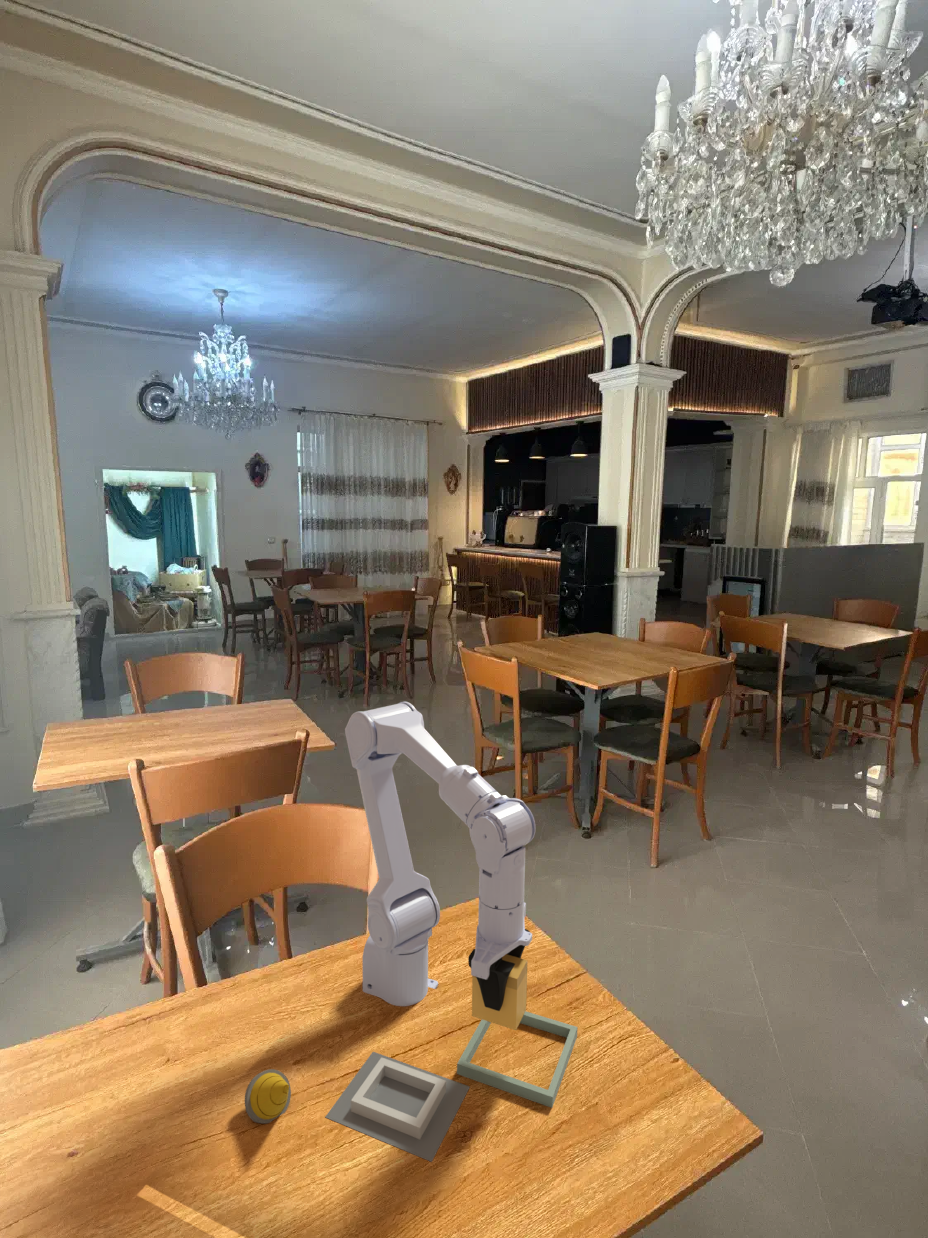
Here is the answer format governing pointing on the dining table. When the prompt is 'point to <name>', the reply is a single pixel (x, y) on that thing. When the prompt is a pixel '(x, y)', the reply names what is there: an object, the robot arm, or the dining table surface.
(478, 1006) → the yellow rectangular block
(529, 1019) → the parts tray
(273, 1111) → the yellow cone
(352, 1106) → the board
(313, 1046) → the dining table surface
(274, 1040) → the dining table surface
